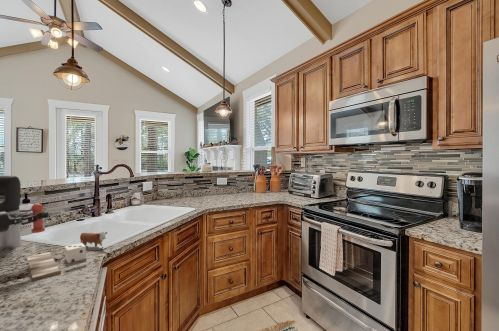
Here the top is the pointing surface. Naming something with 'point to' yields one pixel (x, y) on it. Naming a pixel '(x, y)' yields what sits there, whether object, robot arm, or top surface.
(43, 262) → the track board
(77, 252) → the die
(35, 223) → the pawn
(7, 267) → the top surface
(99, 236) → the bull figurine
